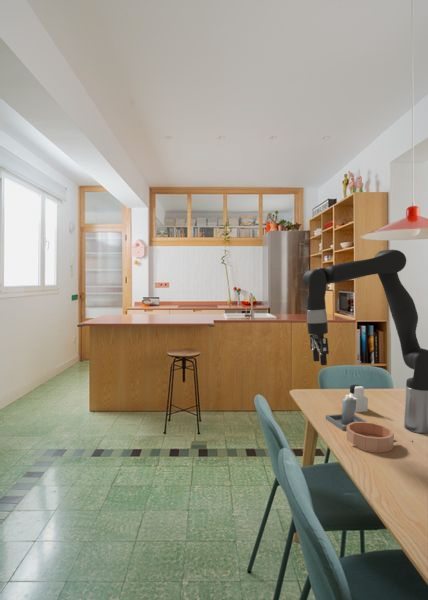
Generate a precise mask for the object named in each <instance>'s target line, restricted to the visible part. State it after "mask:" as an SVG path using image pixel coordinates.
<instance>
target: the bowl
mask: <svg viewBox="0 0 428 600" xmlns="http://www.w3.org/2000/svg"><path fill="white" fill-rule="evenodd" d="M394 435H395V434H394V431H393V430H392V429H390V428H388V427H387V426H385V425H383V424H378V423H375V422H371V421H370V422H368V421H367V422H352V423H350V424H348V425H347V428H346V430H345V436H346V437H345V438H346V441H348V443H351V444H353V445H352V447H353V448H355V449H358V450H360V451H364V452H370V453H371V452H372V453H376V454H377V453H378V454H379V453H387V452H390V451H391V450H393V449H394V439H395V438H394Z"/></svg>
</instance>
